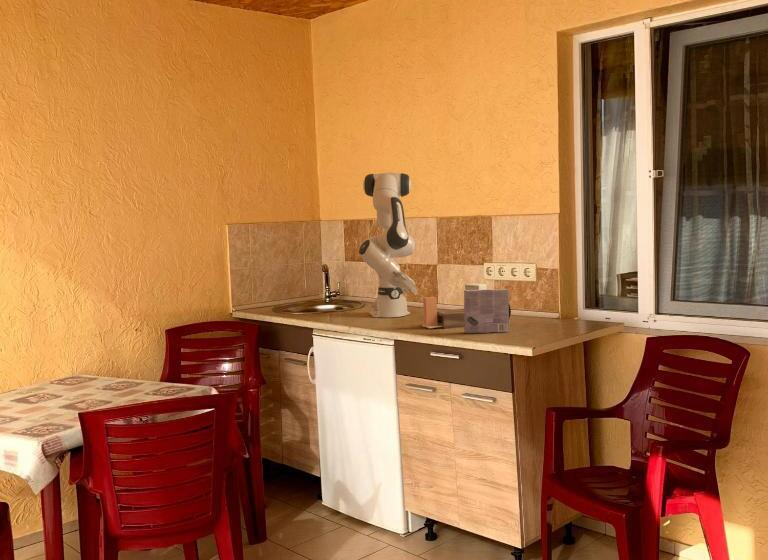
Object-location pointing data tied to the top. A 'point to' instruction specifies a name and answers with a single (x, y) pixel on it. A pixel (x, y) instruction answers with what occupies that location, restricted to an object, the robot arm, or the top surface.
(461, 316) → the walnut dispenser
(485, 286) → the skincare box
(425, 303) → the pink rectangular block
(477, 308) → the cake pan box
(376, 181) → the robot arm
